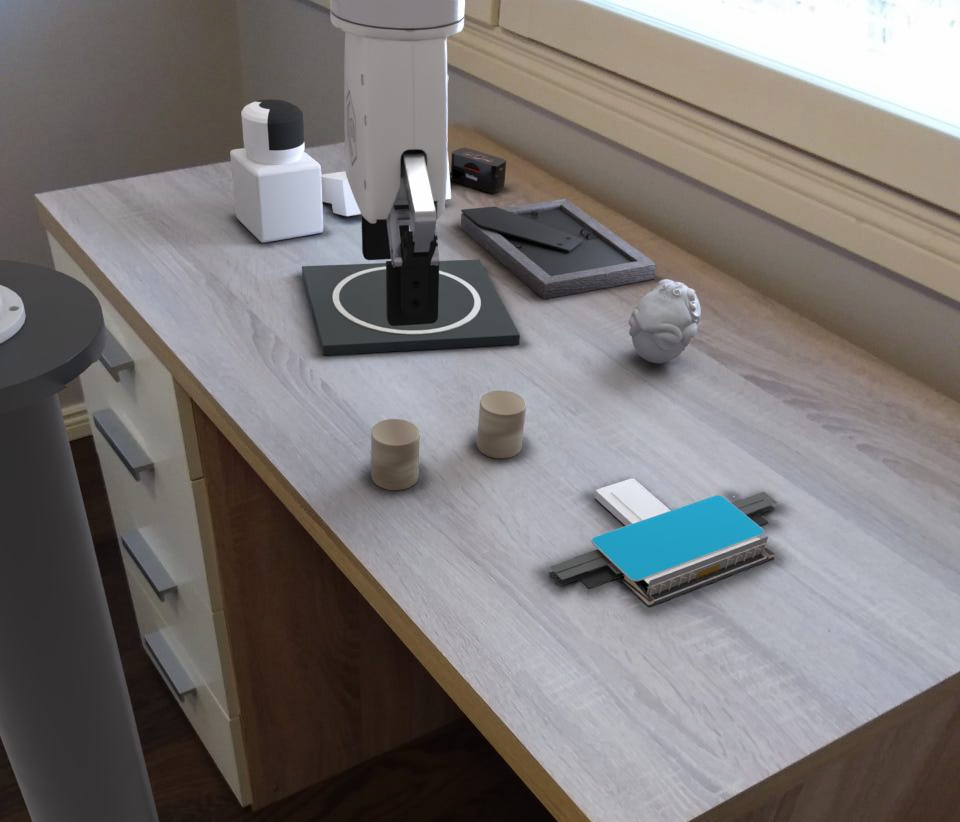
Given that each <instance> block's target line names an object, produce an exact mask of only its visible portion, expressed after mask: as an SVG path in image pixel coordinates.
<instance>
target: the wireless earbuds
mask: <svg viewBox="0 0 960 822" xmlns="http://www.w3.org/2000/svg"><path fill="white" fill-rule="evenodd" d="M506 170H507V159H505V158H501V157H498V156H495V155H492V154H488V153H485V152H481V151H478V150H475V149H473V148H468V147H459V148H457V149H455V150H453V151H451V163H450V171H449V175H450V184H452V183H454V182H455V183H458V184H462V185H464V186H468V187H471V188H474V189H477V190H480V191H483V192H487V193H490V194H494V193H497V192H499V191H500V190H502V189H504V187H505V183H506V182H505V181H506V172H507V171H506Z"/></svg>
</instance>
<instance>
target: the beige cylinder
mask: <svg viewBox="0 0 960 822" xmlns="http://www.w3.org/2000/svg"><path fill="white" fill-rule="evenodd" d="M526 410H527V402H526V400H525V399H524V398H523V397H522V396H521V395H520V394H518V393H516V392H512V391H508V390H493V391H489V392H487V393H485V394H483V395H482V396H481V397H480V399H479V409H478V420H477V421H478V423H477V436H476V447H477V449H478V451H479V452H480V453H482V454H483V455H484V456H487V457H490V458H493V459H510V458H513V457H515V456H518V454H519V453H520V452H521V450H522V446H523V437H524V429H525V428H524V427H525V420H526Z"/></svg>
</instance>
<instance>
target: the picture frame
mask: <svg viewBox="0 0 960 822" xmlns="http://www.w3.org/2000/svg"><path fill="white" fill-rule="evenodd" d="M460 211H461V213H460V229H461V230H462V231H463V232H465V233H466V234H467V235H468V236H469V237H471V238H472V239H473V240H474V241H475V242H476V243H477V244H478V245H480V246H481V247H482V248H483V249H485V251H487V252H488V253H489V254H490V255H491V256H493V258H495V259H496V260H497V261H498V262H499V263H501V264H502V265H503V266H504V267H505V268H507V270H509V271H510V272H511V273H512V274H514V275H515V276H516V277H517V278H518V279H520V281H521V282H522V283H524V284H526V286H527V287H528V288H530V289H531V290H532V291H533V292H534V293H535V294H536V295H538V297H540V298H541V299H542V300H546V299H551V298H552V299H553V298H557V297H562V296H568V295H573V294H574V295H575V294H579V293H584V292H590V291H595V290H602V289H607V288H611V287H617V286H622V285H627V284H634V283H639V282H644V281H649V280H654V279H655V276H656V271H657V263H656V262H655V261H653V260H651V258H649V257H648V256H646V255H645V254H643V253H642V252H641V251H640V250H638V249H636V248H635V247H634V246H633V245H631V244H629V243H628V242H627V241H625V240H624V239H623V238H621V237H620V236H618V235H617V234H616V233H614V232H613V231H611V230H610V229H609V228H607V227H606V226H604V225H603V224H601V223H600V222H599V221H598V220H596V219H595V218H594V217H592V216H591V215H589V214H588V213H587V212H585V211H584V210H582V209H581V208H580V207H578V206H577V205H576V204H575V203H573V202H572V201H570V200H568V199H567V198H561V199H554V200H548V201H547V200H546V201H540V202H531V203H525V204H519V205H511V206H505V207H498V206H486V207H474V208H464V209H461V210H460Z"/></svg>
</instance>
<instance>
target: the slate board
mask: <svg viewBox="0 0 960 822" xmlns="http://www.w3.org/2000/svg"><path fill="white" fill-rule="evenodd" d="M301 276H302V279H303V283H304V287H305V291H306V294H307V298H308V302H309V306H310V311H311V314H312V318H313V321H314V325H315V328H316V329H315V330H316V333H317V337H318V340H319V345H320V348H321V351H322V355H323V356H335V355H353V354H354V355H355V354H372V353H373V354H374V353H389V352H391V353H392V352H405V351H407V352H408V351H426V350H427V351H428V350H443V349H445V350H446V349H461V348H476V347H477V348H479V347H495V346H496V347H497V346H515V345H520V340H521V334H520V332H519V330H518V329H517V326H516V325H515V322H514V321H513V319H512V318H511V315H510V313H509V312H508V310H507V308H506V306H505V304H504V302H503V300H502V299H501V297H500V295H499V293H498V291H497V289H496V287H495V286H494V283H493V281H492V280H491V278H490V277H489V274H488V273H487V271H486V269H485V267H484V265H483V263H482V262H481V259H479V258H477V259H453V260H439V295H438V319H437V321H436V322H435V323H432V324H418V325H403V326H391V325H390V324H389V323H388V320H387V317H386V262H378V263H377V262H375V263H374V262H373V263H353V264H352V263H351V264H323V265H322V264H321V265H302V266H301Z"/></svg>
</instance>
